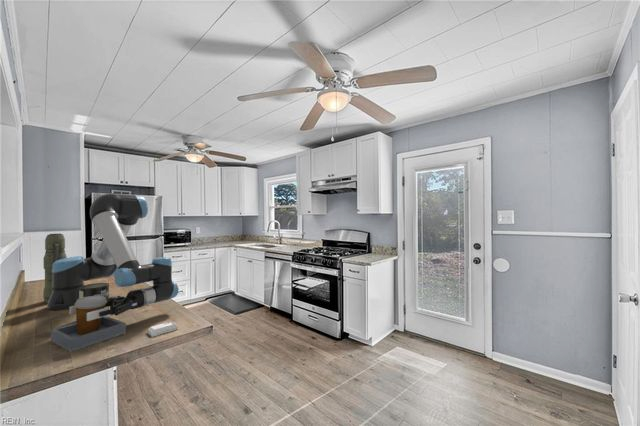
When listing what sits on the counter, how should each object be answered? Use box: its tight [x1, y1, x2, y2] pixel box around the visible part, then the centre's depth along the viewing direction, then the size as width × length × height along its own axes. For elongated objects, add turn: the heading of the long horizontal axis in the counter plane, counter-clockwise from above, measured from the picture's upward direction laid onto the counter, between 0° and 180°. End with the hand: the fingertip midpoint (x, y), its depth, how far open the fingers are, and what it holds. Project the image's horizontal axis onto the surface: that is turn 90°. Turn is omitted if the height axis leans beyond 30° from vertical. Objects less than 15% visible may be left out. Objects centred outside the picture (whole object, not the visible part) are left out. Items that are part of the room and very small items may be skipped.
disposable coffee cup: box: [75, 296, 107, 335], centre depth 105 cm, size 10×10×12 cm
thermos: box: [42, 233, 68, 304], centre depth 147 cm, size 9×12×35 cm
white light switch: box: [147, 321, 179, 338], centre depth 107 cm, size 5×9×3 cm, turn 136°
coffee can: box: [79, 282, 110, 317], centre depth 122 cm, size 10×10×14 cm
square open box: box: [50, 316, 127, 352], centre depth 103 cm, size 16×16×4 cm
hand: (78, 313), depth 100 cm, fingers open, 13 cm apart
